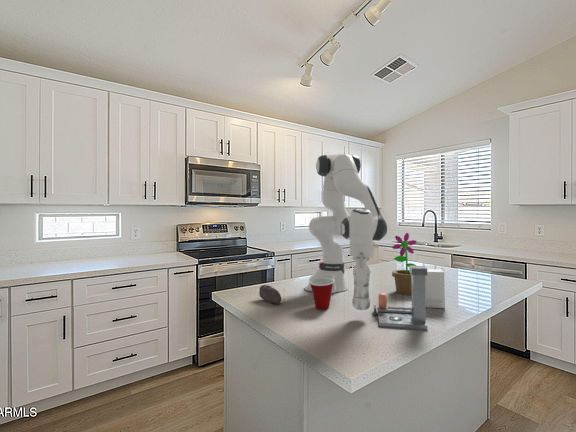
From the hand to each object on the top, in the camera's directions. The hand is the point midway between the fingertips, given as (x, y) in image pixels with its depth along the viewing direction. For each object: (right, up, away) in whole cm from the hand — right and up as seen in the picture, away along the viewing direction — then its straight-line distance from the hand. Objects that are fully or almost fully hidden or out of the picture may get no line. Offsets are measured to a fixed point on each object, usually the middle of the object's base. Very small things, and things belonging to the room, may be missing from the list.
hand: (361, 286), depth 117 cm
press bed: (+14, -12, -4) cm, 19 cm away
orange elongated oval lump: (+10, -11, +5) cm, 16 cm away
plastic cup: (-14, -13, +14) cm, 23 cm away
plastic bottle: (0, -9, 0) cm, 9 cm away
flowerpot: (+32, -12, +37) cm, 50 cm away
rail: (+16, -12, +4) cm, 20 cm away
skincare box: (+35, -12, +15) cm, 40 cm away
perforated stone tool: (-36, -13, +24) cm, 45 cm away
